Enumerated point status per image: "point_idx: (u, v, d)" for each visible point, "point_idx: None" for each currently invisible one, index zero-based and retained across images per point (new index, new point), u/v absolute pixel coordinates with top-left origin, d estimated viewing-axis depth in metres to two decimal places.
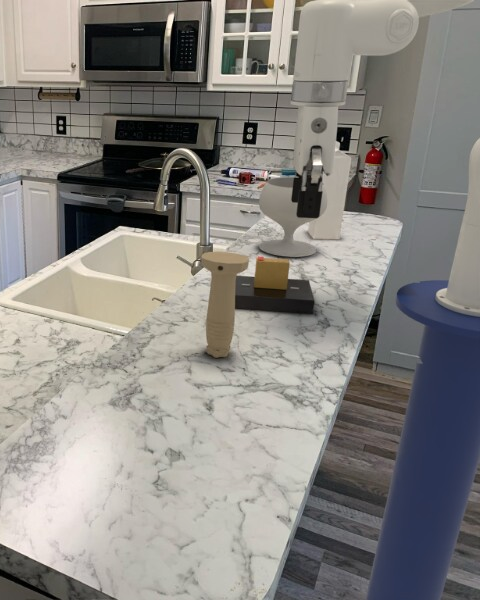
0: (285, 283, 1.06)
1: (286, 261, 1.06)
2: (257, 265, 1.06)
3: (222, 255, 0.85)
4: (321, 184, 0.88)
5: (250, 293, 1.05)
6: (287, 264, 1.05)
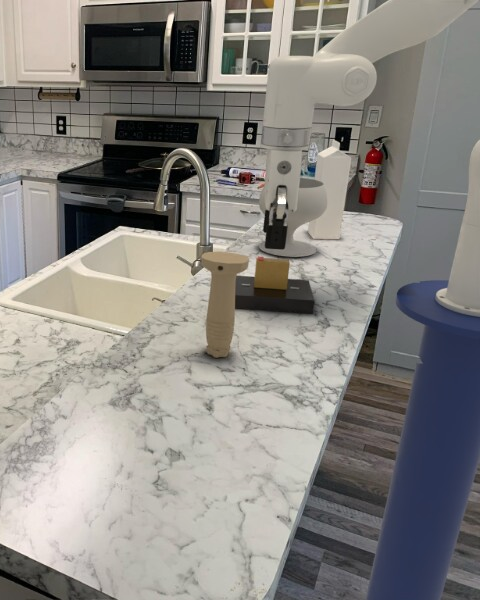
0: (285, 283, 1.06)
1: (286, 261, 1.06)
2: (257, 265, 1.06)
3: (222, 255, 0.85)
4: (286, 219, 0.97)
5: (250, 293, 1.05)
6: (287, 264, 1.05)
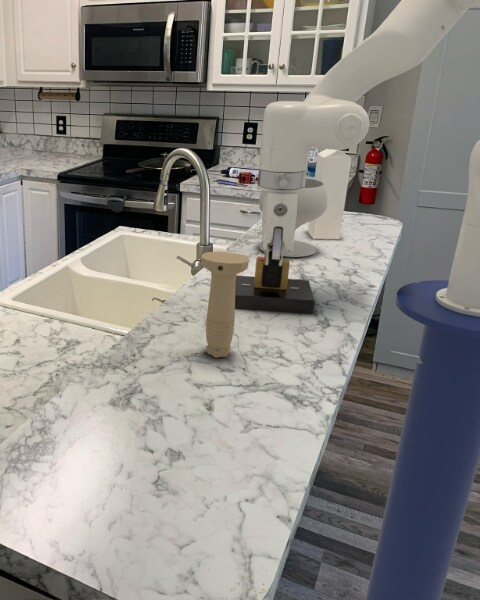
0: (285, 283, 1.06)
1: (286, 261, 1.06)
2: (257, 265, 1.06)
3: (222, 255, 0.85)
4: (281, 263, 1.03)
5: (250, 293, 1.05)
6: (287, 264, 1.05)
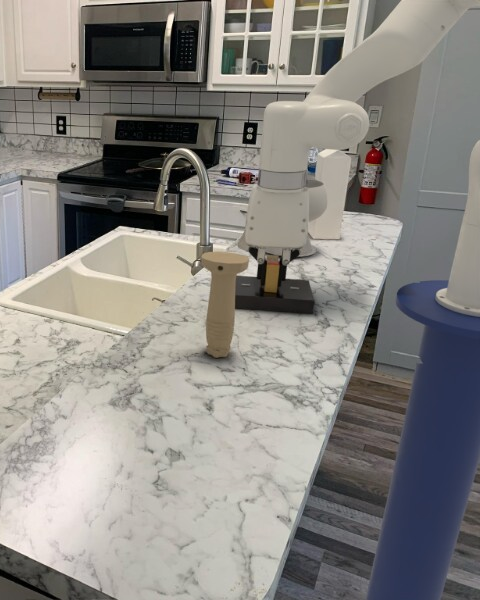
0: None
1: (273, 256, 1.08)
2: (278, 269, 1.04)
3: (222, 255, 0.85)
4: None
5: (250, 293, 1.05)
6: None
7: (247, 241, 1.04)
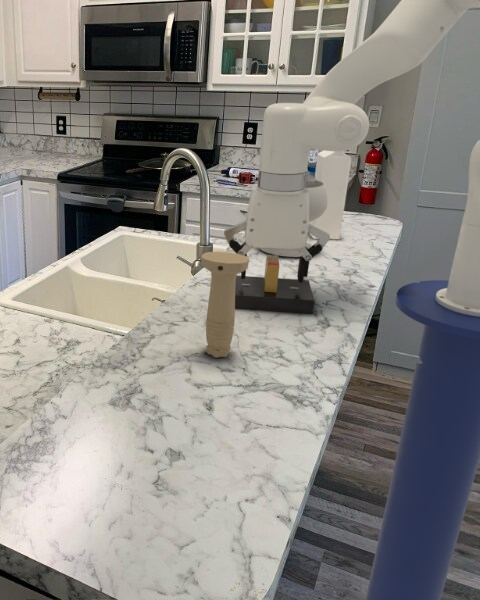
0: None
1: (273, 256, 1.08)
2: (278, 269, 1.04)
3: (222, 255, 0.85)
4: None
5: (250, 293, 1.05)
6: None
7: (247, 243, 1.04)
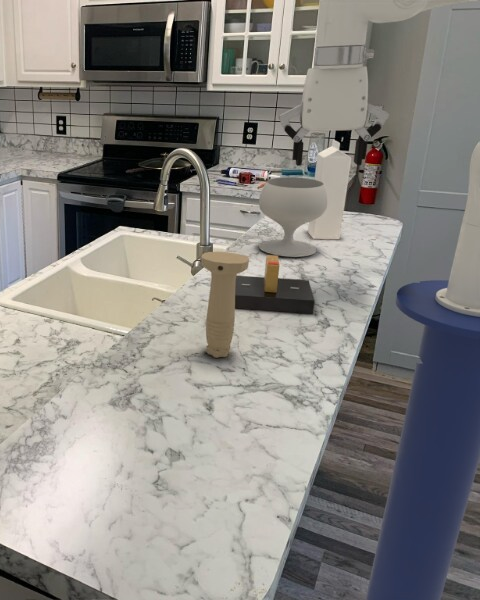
0: None
1: (273, 256, 1.08)
2: (278, 269, 1.04)
3: (222, 255, 0.85)
4: None
5: (250, 293, 1.05)
6: None
7: (304, 125, 1.03)
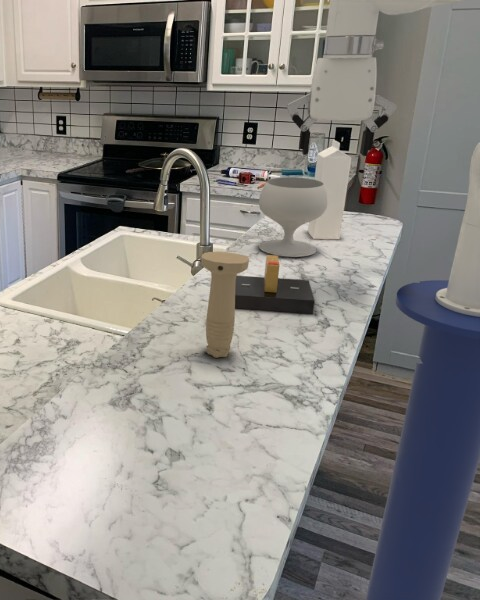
0: None
1: (273, 256, 1.08)
2: (278, 269, 1.04)
3: (222, 255, 0.85)
4: None
5: (250, 293, 1.05)
6: None
7: (312, 115, 1.04)
